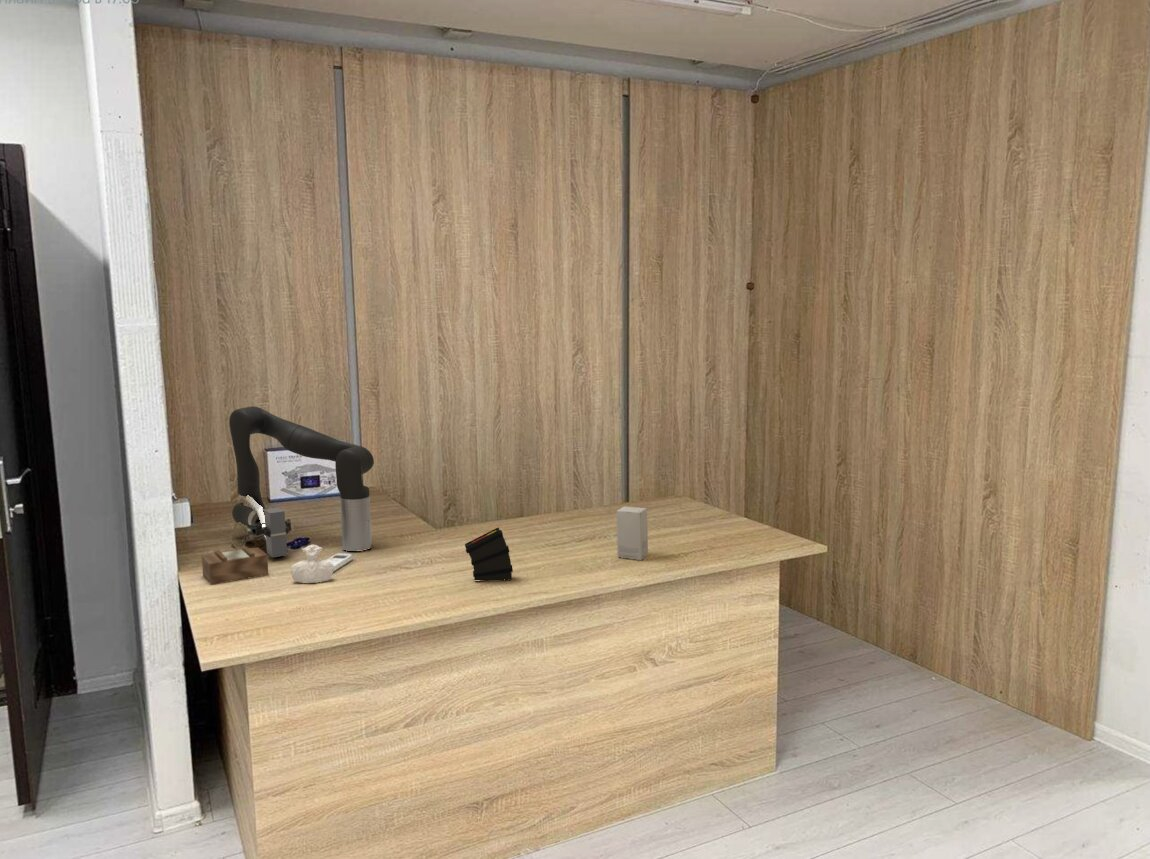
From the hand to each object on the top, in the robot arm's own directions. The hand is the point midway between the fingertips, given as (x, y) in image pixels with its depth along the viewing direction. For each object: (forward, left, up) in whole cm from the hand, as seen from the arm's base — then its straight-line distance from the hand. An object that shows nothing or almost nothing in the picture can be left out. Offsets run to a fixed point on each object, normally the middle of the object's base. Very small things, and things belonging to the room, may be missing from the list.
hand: (278, 532), depth 272 cm
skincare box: (-109, +15, -9) cm, 110 cm away
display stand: (+10, +13, -9) cm, 19 cm away
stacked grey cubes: (+1, -2, -8) cm, 8 cm away
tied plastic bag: (-13, +22, -9) cm, 27 cm away
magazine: (-63, +30, -9) cm, 70 cm away
